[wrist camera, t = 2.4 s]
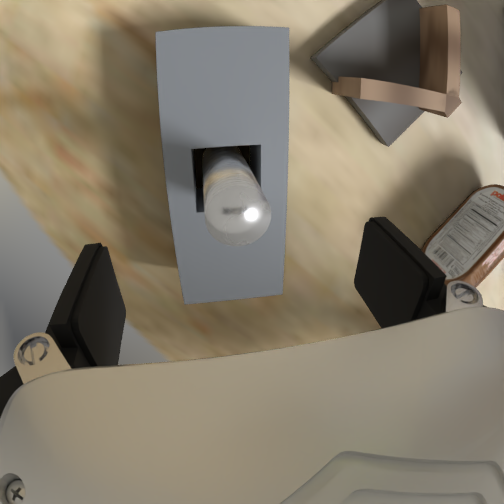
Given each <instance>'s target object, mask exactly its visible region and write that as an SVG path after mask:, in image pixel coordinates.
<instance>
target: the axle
mask: <svg viewBox="0 0 504 504" xmlns="http://www.w3.org/2000/svg"><path fill="white" fill-rule="evenodd" d="M202 171H203V193H204V213H205V224H206V227H207V229H208V231H209V233H210V234H211V236H212V237H213V238H214V239H216V240H217V241H219V242H220V243H222V244H225V245H229V246H244V245H248V244H250V243H252V242H254V241H256V240H257V239H259V238H260V237H261V236H262V235H263V234H264V233H265V232H266V230H267V228H268V226H269V224H270V221H271V208H270V205H269V202H268V201H267V199H266V197H265V195H264V193H263V191H262V189H261V188H260V186H259V184H258V182H257V180H256V179H255V177H254V175H253V173H252V171H251V169H250V168H249V166H248V164H247V162H246V160H245V159H244V157H243V155H242V153H241V152H240V150H239V148H238V147H237V146H224V147H210V148H207V149H206V150H205V151H204V154H203V157H202Z"/></svg>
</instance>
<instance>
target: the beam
mask: <svg viewBox="0 0 504 504" xmlns="http://www.w3.org/2000/svg"><path fill="white" fill-rule="evenodd" d="M156 62H157V83H158V100H159V114H160V127H161V138H162V149H163V159H164V169H165V178H166V186H167V195H168V203H169V210H170V218H171V225H172V232H173V239H174V245H175V252H176V258H177V265H178V271H179V277H180V282H181V288H182V294H183V299H184V304H196V303H207V302H217V301H227V300H237V299H246V298H256V297H264V296H273V295H282V294H283V277H284V257H285V235H286V211H287V181H288V142H289V28H285V27H264V26H222V27H201V28H188V29H177V30H168V31H160V32H156ZM241 145H250V169H251V171H252V173H253V175H254V177H255V179H256V180H257V182H258V184H259V186H260V188H261V189H262V191H263V193H264V195H265V197H266V199H267V201H268V202H269V205H270V208H271V221H270V224H269V226H268V228H267V230H266V232H265V233H264V234H263V235H262V236H261V237H260V238H259V239H257V240H256V241H254V242H252V243H250V244H248V245H244V246H229V245H225V244H222V243H220V242H219V241H217V240H216V239H214V238H213V237H212V236H211V234H210V233H209V231H208V229H207V227H206V224H205V213H204V193H203V188H197V187H196V174H195V161H194V149H197V148H210V147H224V146H241Z"/></svg>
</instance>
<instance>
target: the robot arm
mask: <svg viewBox="0 0 504 504" xmlns="http://www.w3.org/2000/svg"><path fill="white" fill-rule="evenodd" d="M446 277H447V276H446V275H445V273H444V272H443V271H442V270H441V269H440V268H439V267H438V266H437V265H436V264H435V263H434V262H433V261H432V260H431V259H430V258H429V257H428V256H427V255H426V254H424V253H423V252H422V251H421V250H420V249H419V248H418V247H417V246H416V245H415V244H414V243H413V242H412V241H411V240H410V239H409V238H408V237H407V236H406V235H404V234H403V233H402V232H401V231H400V230H399V229H398V228H397V227H396V226H395V225H394V224H392V223H391V222H390V221H389V220H388V219H387V218H386V217H374V218H370V219H369V221H368V222H366V223H365V226H364V232H363V238H362V243H361V249H360V254H359V259H358V264H357V269H356V274H355V279H354V284H355V288H356V290H357V291H358V293H359V294H360V296H361V297H362V299H363V300H364V302H365V303H366V305H367V306H368V308H369V309H370V311H371V312H372V314H373V315H374V317H375V319H376V320H377V322H378V323H379V325H380V326H381V328H382V329H377V330H373V331H368V332H364V333H359V334H354V335H350V336H345V337H340V338H335V339H330V340H325V341H319V342H314V343H308V344H303V345H297V346H291V347H285V348H279V349H272V350H266V351H259V352H252V353H244V354H237V355H229V356H221V357H213V358H203V359H194V360H183V361H172V362H159V363H146V364H145V363H144V364H126V365H118V360H119V353H120V346H121V340H122V334H123V328H124V323H125V317H126V309H125V305H124V302H123V299H122V296H121V292H120V289H119V286H118V283H117V279H116V276H115V273H114V269H113V266H112V262H111V259H110V255H109V251H108V248H107V247H106V246H105V247H103V246H102V244H101V243H96V244H87V245H85V246H84V248H83V250H82V252H81V254H80V256H79V258H78V260H77V262H76V264H75V266H74V268H73V270H72V272H71V275H70V276H69V279H68V281H67V283H66V285H65V287H64V289H63V291H62V294H61V296H60V298H59V300H58V303H57V305H56V307H55V310H54V312H53V315H52V317H51V320H50V322H49V325H48V327H47V330H46V332H45V333H34V334H31V335H29V336H27V337H25V338H24V339H23V340H22V341H21V342H20V343H19V344H18V345H17V347H16V349H15V351H14V362H15V365H16V366H15V367H14V368H12V369H11V370H9V371H8V372H7V373H6V374H4V375H3V376H1V377H0V504H504V311H503V310H500V309H496V308H489V307H486V306H484V305H483V300H482V296H481V294H480V292H479V291H478V290H477V289H476V288H475V287H474V286H472V285H471V284H469V283H466V282H463V281H452V282H450V283H449V284H448V285H447V286H446V285H445V284H444V282H445V279H446Z"/></svg>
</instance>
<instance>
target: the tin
mask: <svg viewBox="0 0 504 504" xmlns="http://www.w3.org/2000/svg"><path fill="white" fill-rule="evenodd" d="M422 252H423V253H424V254H426V255H427V256H428V257H429V258H430V259H431V260H432V261H433V262H434V263H435V264H436V265H437V266H438V267H439V268H440V269H441V270H442V271H443V272H444V273H445V275H446V276H447V277H446V279H445V282H444V284H445V285H446V286H447V285H448V284H449V283H450V282H452V281H463V282H466V283H469V284H471V285H472V286H474V287H475V288H476V287H477V286H478V285H479V284H480V283H481V282H482V281H483V280H484V279H485V278H486V277H487V276H488V275H489V274H490V273H491V271H492V270H493V269H494V268H495V267H496V266H497V265H498V264H499V263H500V261H501V260H502V259H503V258H504V186H501V185H488V186H484V187H482V188H480V189H478V190H476V191H474V192H473V193H472V194H471V195H470V196H469V197H468V198H467V199H466V200H465V201H464V202H463V203H462V204H461V205H460V207H459V208H458V209H457V210H456V211H455V212H454V213H453V214H452V215H451V216H450V217H449V218H448V219H447V220H446V221H445V222H444V223H443V224H442V225H441V226H440V227H439V228H438V229H437V230H436V231H435V232H434V233H433V234H432V235H431V237H430V238H429V239H428V240H427V241H426V243H425V245H424V247H423V249H422Z"/></svg>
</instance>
